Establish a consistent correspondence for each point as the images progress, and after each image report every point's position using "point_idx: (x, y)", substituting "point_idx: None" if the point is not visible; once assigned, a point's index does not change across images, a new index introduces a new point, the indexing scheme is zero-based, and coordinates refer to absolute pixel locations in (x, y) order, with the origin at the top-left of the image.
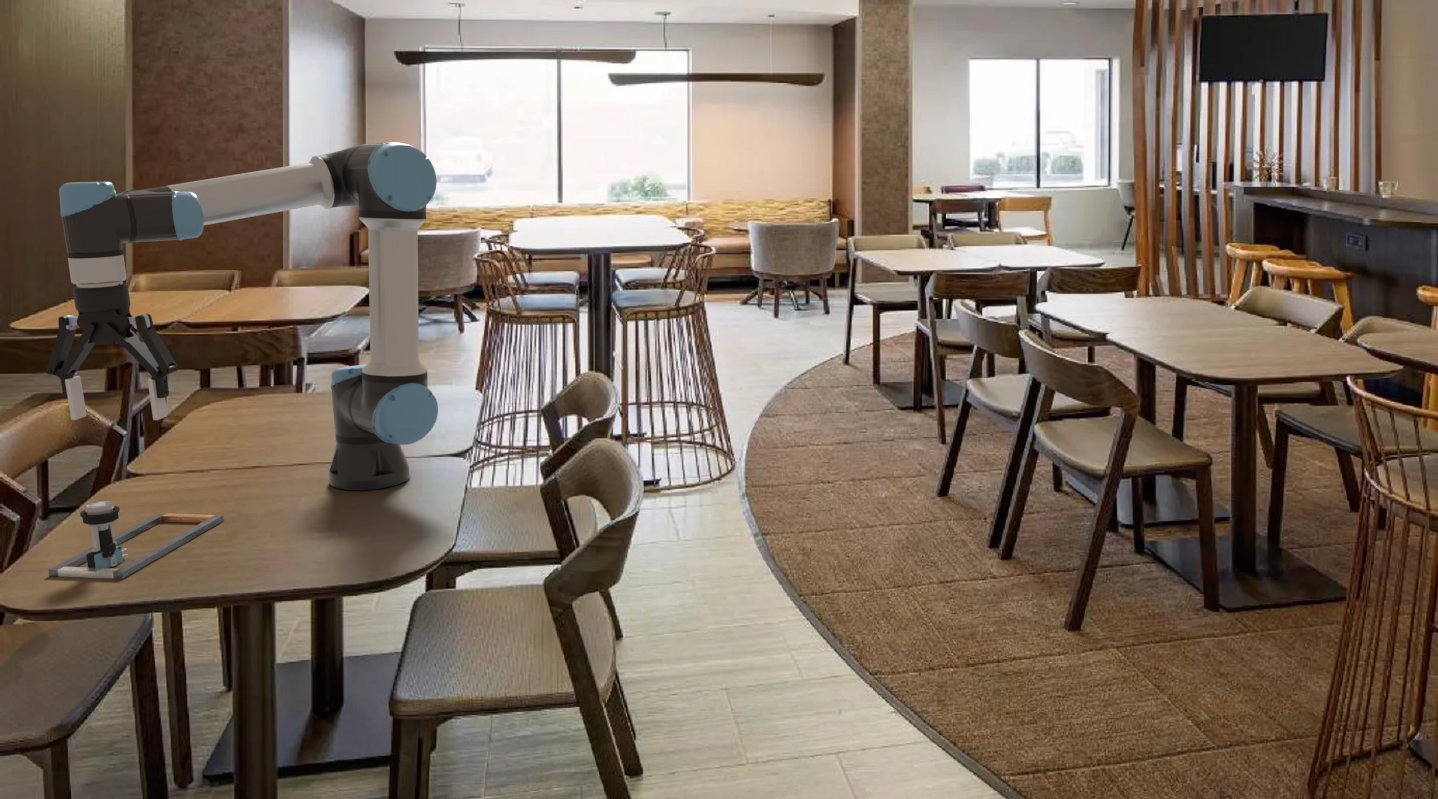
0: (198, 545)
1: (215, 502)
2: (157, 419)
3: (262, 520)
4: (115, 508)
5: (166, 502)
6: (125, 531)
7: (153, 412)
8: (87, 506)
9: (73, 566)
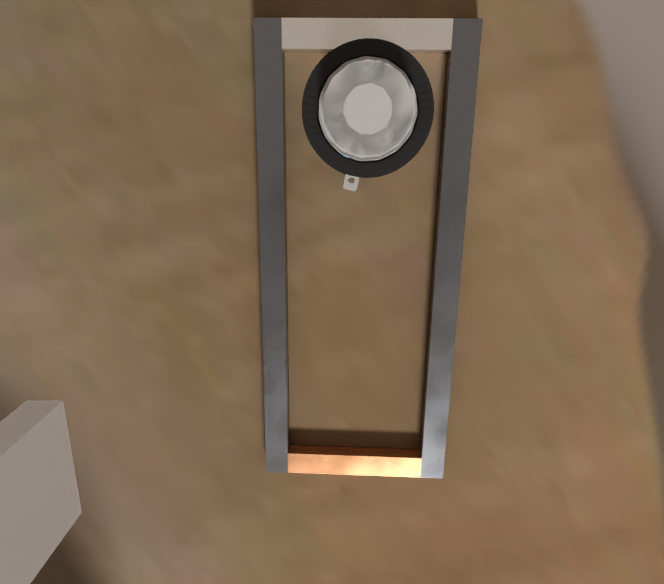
0: (220, 290)
1: (369, 581)
2: (25, 402)
3: (176, 470)
4: (326, 144)
5: (492, 577)
6: (448, 340)
7: (15, 431)
8: (398, 78)
9: (446, 90)
